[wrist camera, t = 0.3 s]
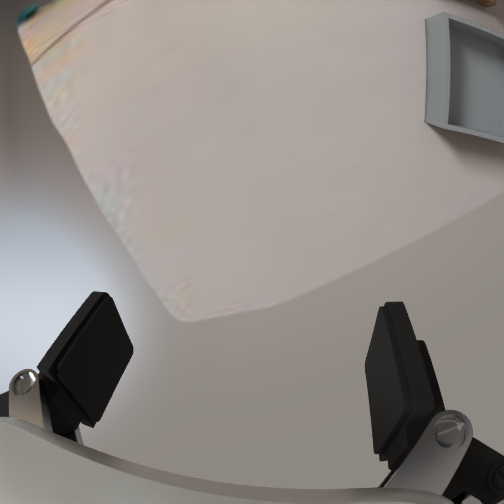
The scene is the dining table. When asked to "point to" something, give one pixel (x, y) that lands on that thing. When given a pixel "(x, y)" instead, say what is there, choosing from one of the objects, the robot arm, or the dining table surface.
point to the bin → (464, 77)
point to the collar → (485, 2)
